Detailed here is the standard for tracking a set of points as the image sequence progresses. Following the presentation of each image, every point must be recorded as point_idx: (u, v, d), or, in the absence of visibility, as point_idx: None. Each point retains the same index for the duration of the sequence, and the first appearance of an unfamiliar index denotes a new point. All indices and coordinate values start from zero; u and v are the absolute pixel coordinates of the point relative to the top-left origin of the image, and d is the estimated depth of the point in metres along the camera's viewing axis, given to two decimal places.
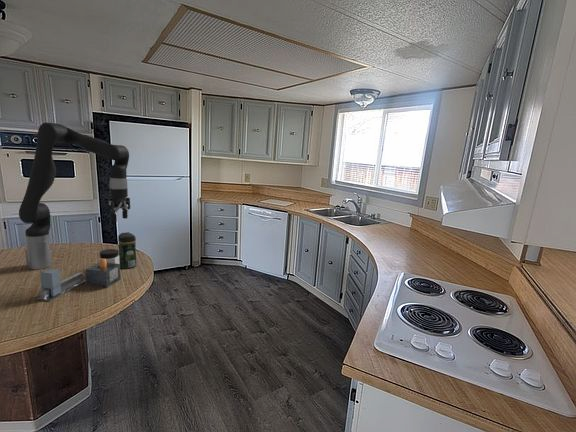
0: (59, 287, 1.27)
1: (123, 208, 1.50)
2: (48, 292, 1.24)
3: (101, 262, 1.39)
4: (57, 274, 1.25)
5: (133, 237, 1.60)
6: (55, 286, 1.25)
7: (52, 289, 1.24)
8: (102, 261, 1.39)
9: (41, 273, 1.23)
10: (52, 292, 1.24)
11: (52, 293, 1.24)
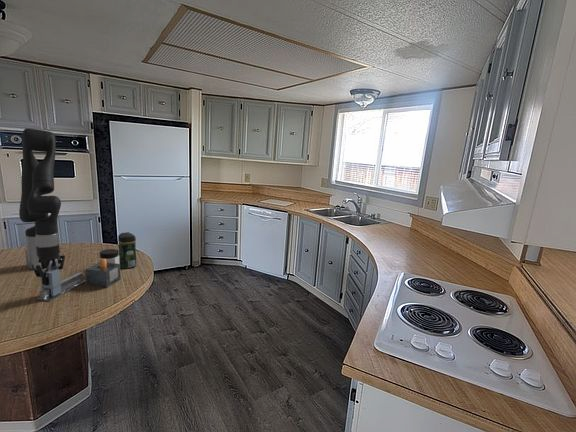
0: (59, 287, 1.27)
1: (53, 268, 1.27)
2: (48, 292, 1.24)
3: (101, 262, 1.39)
4: (57, 274, 1.25)
5: (133, 237, 1.60)
6: (55, 286, 1.25)
7: (52, 289, 1.24)
8: (102, 261, 1.39)
9: None
10: (52, 292, 1.24)
11: (52, 293, 1.24)
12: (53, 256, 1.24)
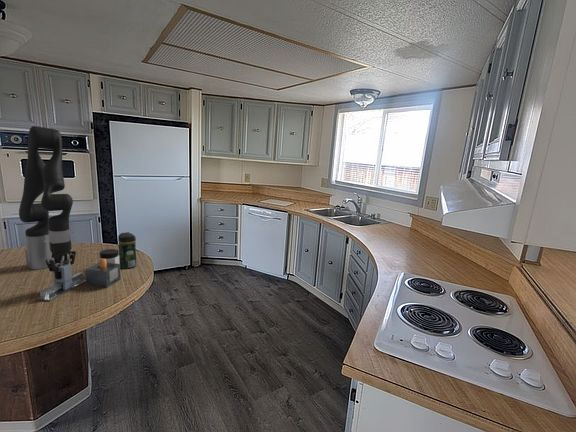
0: (70, 281, 1.33)
1: (65, 263, 1.34)
2: (48, 292, 1.24)
3: (101, 262, 1.39)
4: (69, 269, 1.32)
5: (133, 237, 1.60)
6: (67, 280, 1.31)
7: (64, 283, 1.30)
8: (102, 261, 1.39)
9: None
10: (64, 286, 1.30)
11: (64, 287, 1.30)
12: (65, 251, 1.30)
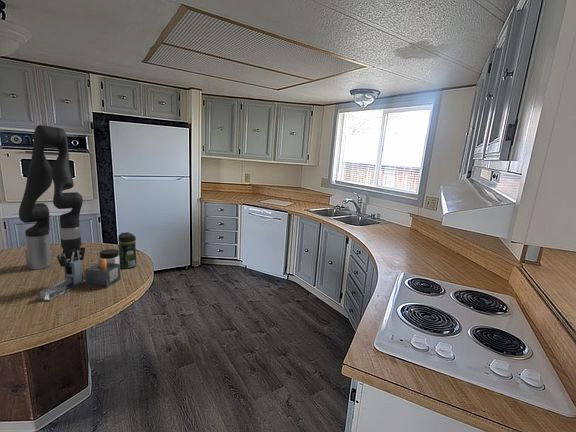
0: (80, 276, 1.39)
1: (75, 259, 1.39)
2: (48, 292, 1.24)
3: (101, 262, 1.39)
4: (78, 264, 1.37)
5: (133, 237, 1.60)
6: (77, 275, 1.37)
7: (74, 278, 1.36)
8: (102, 261, 1.39)
9: None
10: (74, 281, 1.36)
11: (74, 281, 1.36)
12: (75, 248, 1.36)
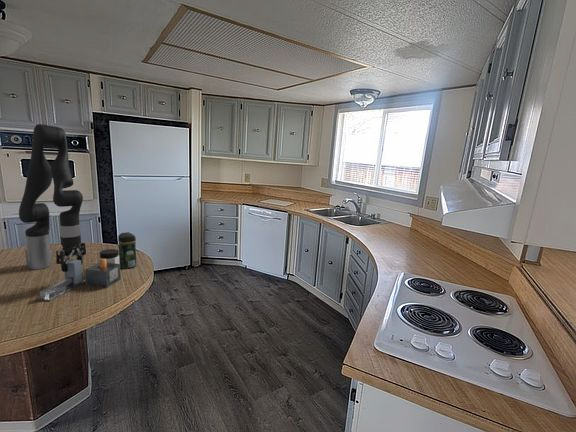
0: (80, 276, 1.39)
1: None
2: (48, 292, 1.24)
3: (101, 262, 1.39)
4: (79, 264, 1.37)
5: (133, 237, 1.60)
6: (77, 275, 1.37)
7: (74, 278, 1.36)
8: (102, 261, 1.39)
9: None
10: (74, 281, 1.36)
11: (74, 281, 1.36)
12: (75, 246, 1.36)
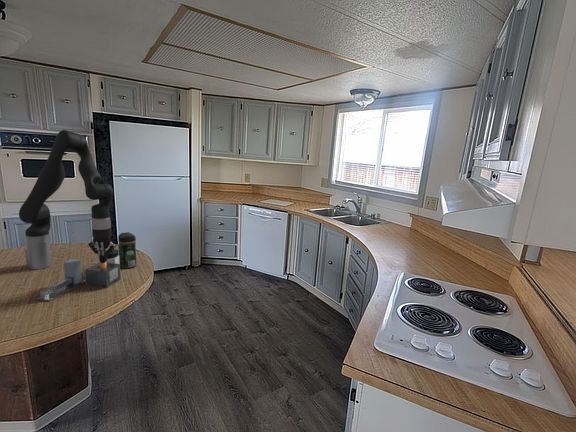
0: (80, 276, 1.39)
1: None
2: (48, 292, 1.24)
3: (101, 265, 1.40)
4: (79, 264, 1.37)
5: (133, 237, 1.60)
6: (77, 275, 1.37)
7: (74, 278, 1.36)
8: (102, 264, 1.40)
9: (65, 263, 1.35)
10: (74, 281, 1.36)
11: (74, 281, 1.36)
12: (102, 239, 1.38)
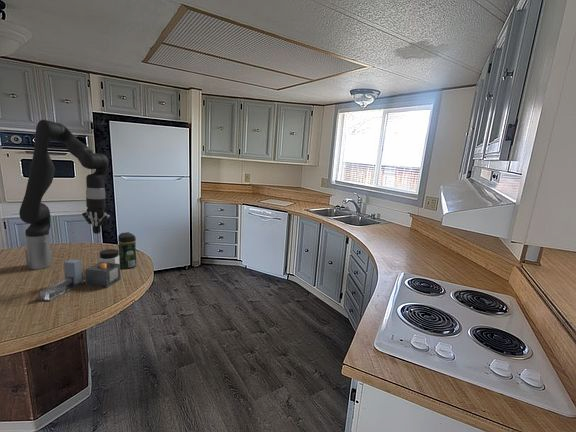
0: (80, 276, 1.39)
1: (99, 222, 1.40)
2: (48, 292, 1.24)
3: (101, 267, 1.40)
4: (79, 264, 1.37)
5: (133, 237, 1.60)
6: (77, 275, 1.37)
7: (74, 278, 1.36)
8: (102, 266, 1.40)
9: (65, 263, 1.35)
10: (74, 281, 1.36)
11: (74, 281, 1.36)
12: (96, 209, 1.37)
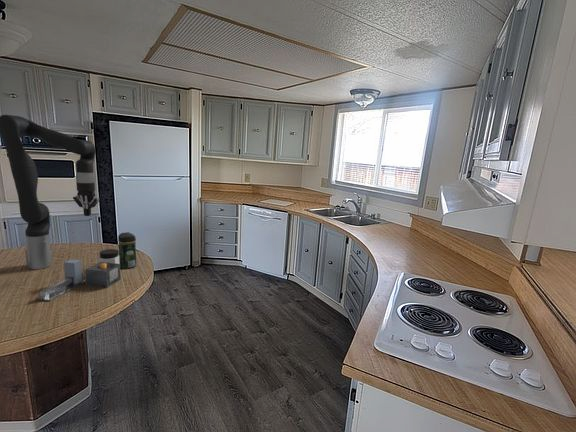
0: (80, 276, 1.39)
1: None
2: (48, 292, 1.24)
3: (101, 267, 1.40)
4: (79, 264, 1.37)
5: (133, 237, 1.60)
6: (77, 275, 1.37)
7: (74, 278, 1.36)
8: (102, 266, 1.40)
9: (65, 263, 1.35)
10: (74, 281, 1.36)
11: (74, 281, 1.36)
12: (86, 193, 1.47)
